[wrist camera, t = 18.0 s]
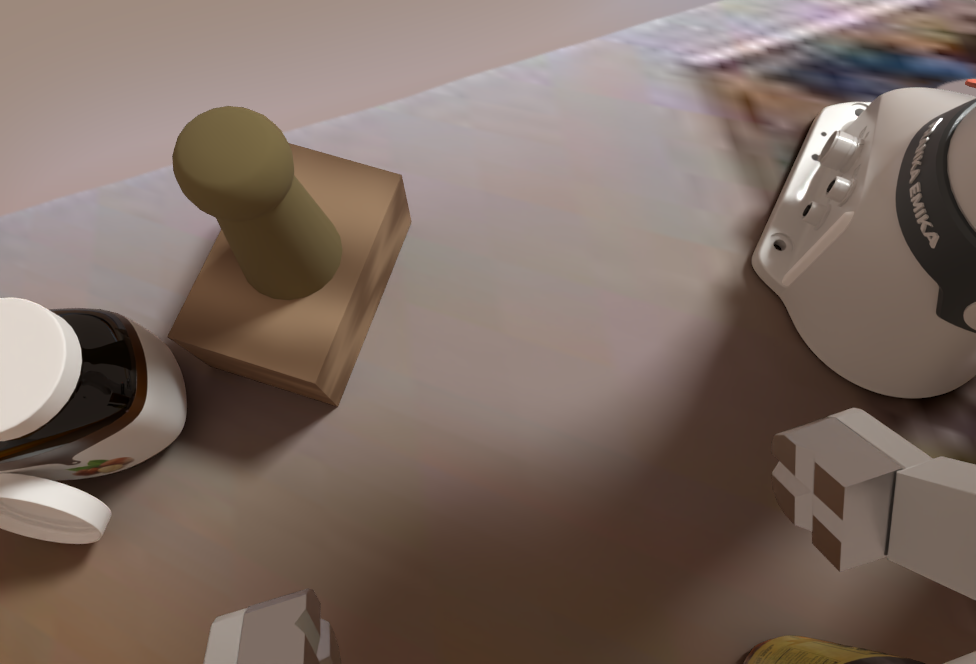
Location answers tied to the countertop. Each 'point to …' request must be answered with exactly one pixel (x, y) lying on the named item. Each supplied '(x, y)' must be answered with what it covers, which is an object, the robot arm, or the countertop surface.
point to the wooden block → (318, 317)
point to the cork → (257, 201)
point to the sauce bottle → (816, 653)
